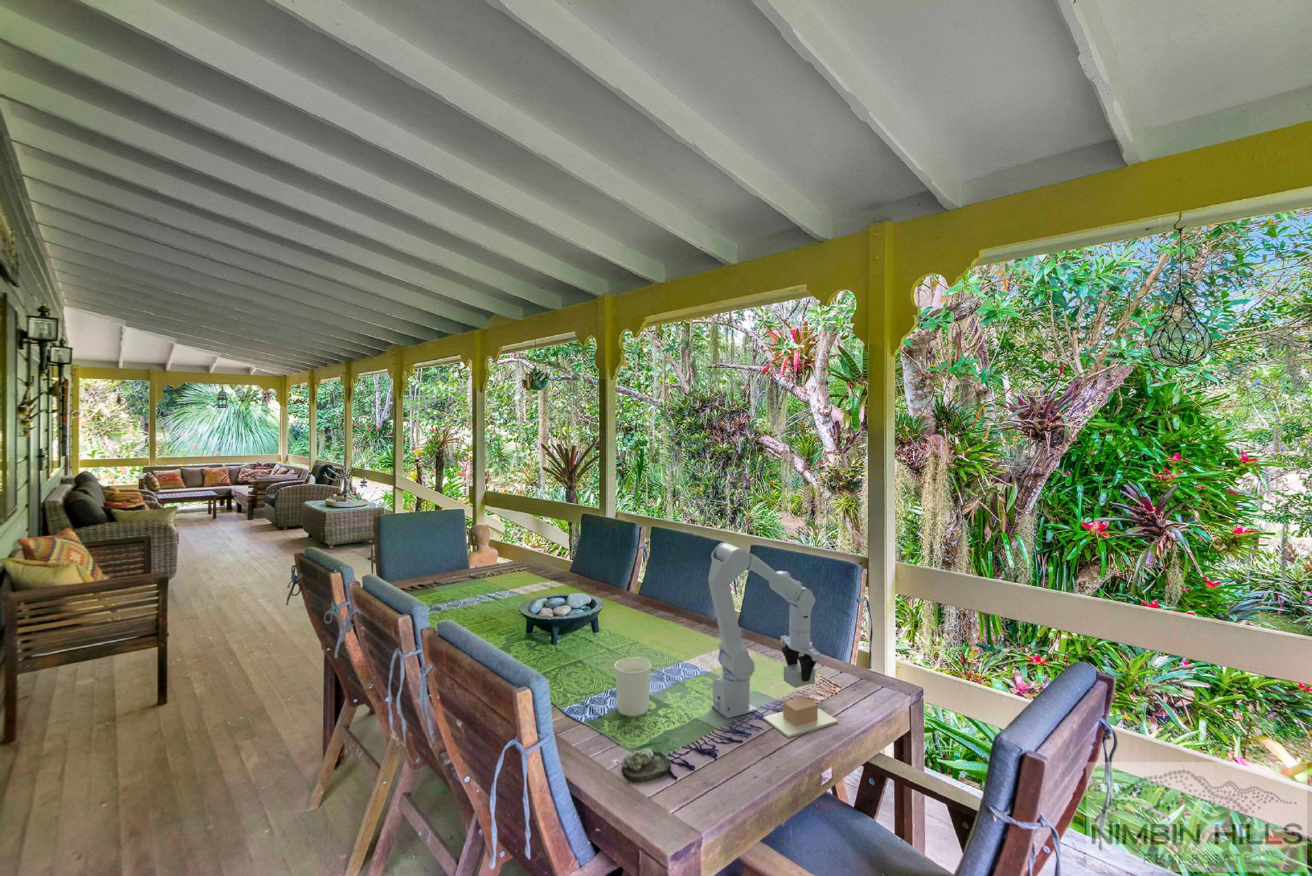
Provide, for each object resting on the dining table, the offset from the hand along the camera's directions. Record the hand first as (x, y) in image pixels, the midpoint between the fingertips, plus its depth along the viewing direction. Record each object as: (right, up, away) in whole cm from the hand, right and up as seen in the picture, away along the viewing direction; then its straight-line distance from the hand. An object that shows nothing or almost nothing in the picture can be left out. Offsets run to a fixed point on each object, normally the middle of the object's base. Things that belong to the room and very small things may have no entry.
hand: (799, 676), depth 163 cm
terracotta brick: (-3, -5, -14) cm, 15 cm away
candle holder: (-46, -6, -7) cm, 47 cm away
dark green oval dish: (-42, -7, -34) cm, 55 cm away
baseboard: (-3, -6, -14) cm, 15 cm away
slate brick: (0, -1, 0) cm, 1 cm away
